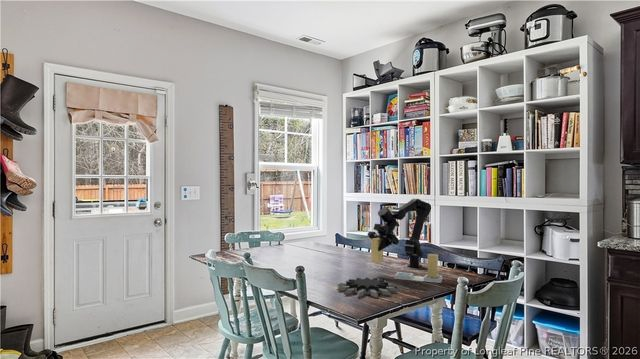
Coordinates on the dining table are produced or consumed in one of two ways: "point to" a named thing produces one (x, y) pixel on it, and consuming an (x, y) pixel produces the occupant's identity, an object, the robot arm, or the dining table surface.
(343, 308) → the dining table surface
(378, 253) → the billet
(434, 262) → the seated billet
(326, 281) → the dining table surface
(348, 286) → the decorative piece
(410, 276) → the white shallow tray
